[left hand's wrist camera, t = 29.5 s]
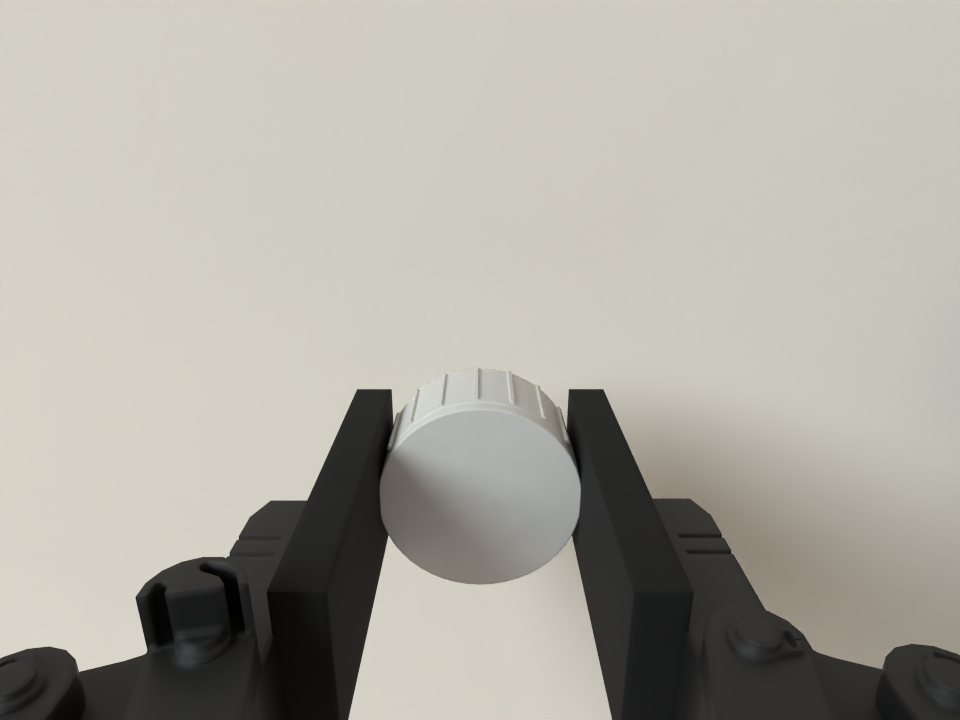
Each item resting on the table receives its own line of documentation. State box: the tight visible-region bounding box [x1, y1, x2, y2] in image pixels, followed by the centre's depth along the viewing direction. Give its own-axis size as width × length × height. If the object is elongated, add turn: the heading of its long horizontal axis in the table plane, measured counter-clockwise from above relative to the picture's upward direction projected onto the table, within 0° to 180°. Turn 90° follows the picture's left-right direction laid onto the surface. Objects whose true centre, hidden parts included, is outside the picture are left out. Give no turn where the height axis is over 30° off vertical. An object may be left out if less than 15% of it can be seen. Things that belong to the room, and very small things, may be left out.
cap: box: [379, 367, 581, 584], centre depth 14 cm, size 4×4×2 cm
